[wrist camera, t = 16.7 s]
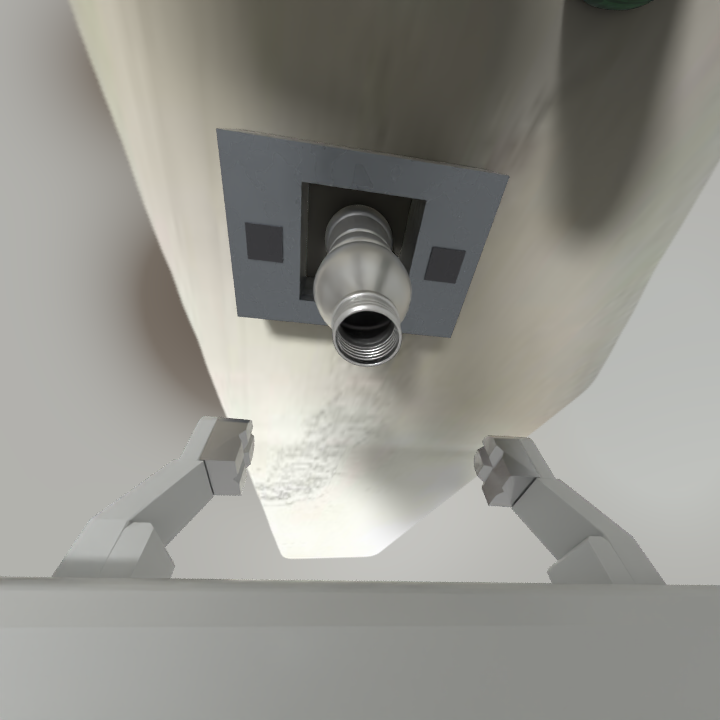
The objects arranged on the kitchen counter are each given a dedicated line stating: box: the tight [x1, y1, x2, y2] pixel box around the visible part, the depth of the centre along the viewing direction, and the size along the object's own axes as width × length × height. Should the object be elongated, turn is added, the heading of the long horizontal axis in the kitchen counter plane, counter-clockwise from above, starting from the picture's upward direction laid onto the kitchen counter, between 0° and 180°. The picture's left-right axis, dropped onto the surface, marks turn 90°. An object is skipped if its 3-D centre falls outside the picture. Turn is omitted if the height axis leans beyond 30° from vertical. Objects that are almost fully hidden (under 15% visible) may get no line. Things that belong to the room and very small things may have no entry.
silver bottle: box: [313, 205, 412, 367], centre depth 24 cm, size 6×7×20 cm
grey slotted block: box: [216, 128, 509, 338], centre depth 29 cm, size 15×22×6 cm
